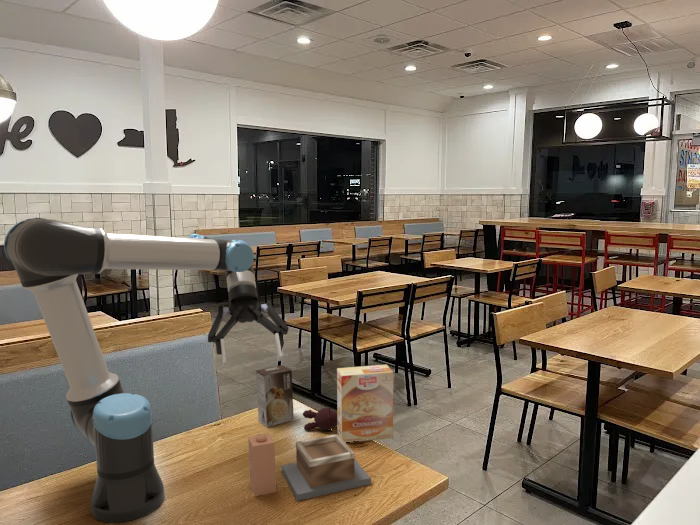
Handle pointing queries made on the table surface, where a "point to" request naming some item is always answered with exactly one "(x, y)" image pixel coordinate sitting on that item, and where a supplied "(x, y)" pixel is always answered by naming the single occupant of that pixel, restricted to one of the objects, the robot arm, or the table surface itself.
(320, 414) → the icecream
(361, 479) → the base board
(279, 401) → the coffee box
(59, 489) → the table surface
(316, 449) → the brown square box
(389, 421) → the coffeecake box
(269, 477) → the block
